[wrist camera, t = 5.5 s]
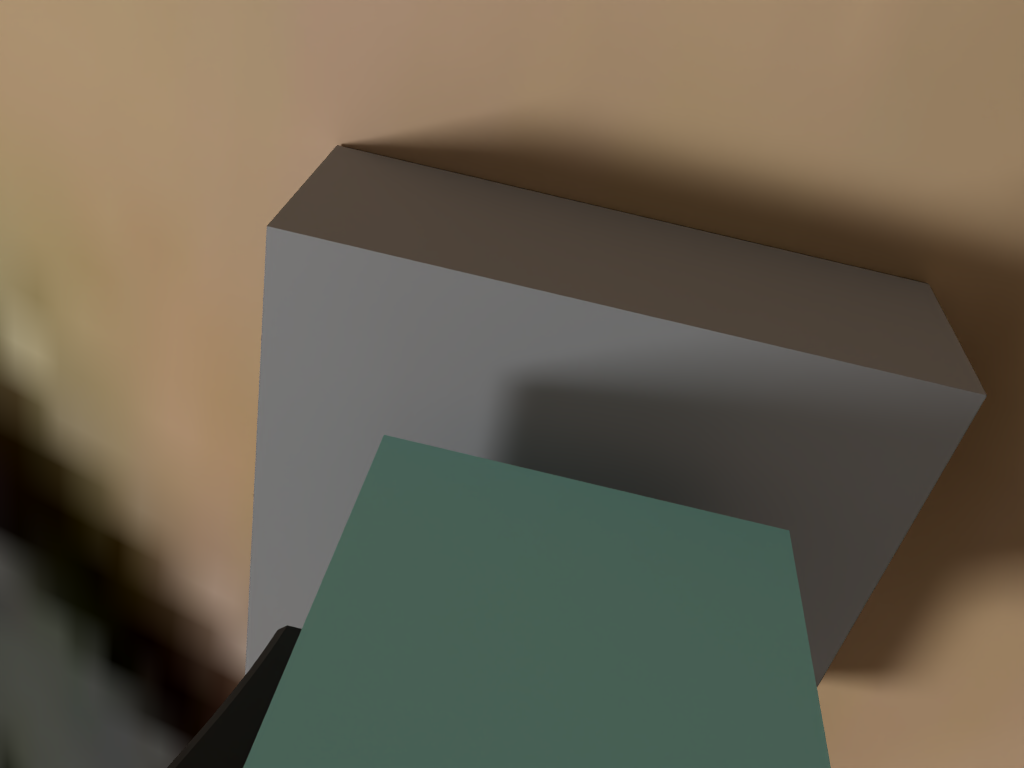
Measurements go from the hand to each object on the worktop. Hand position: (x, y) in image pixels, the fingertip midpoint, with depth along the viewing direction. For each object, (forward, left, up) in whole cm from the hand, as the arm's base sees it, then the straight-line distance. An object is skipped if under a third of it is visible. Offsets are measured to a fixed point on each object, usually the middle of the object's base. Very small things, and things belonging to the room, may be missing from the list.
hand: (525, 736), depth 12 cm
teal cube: (0, 0, -2) cm, 2 cm away
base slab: (0, 0, -6) cm, 6 cm away
